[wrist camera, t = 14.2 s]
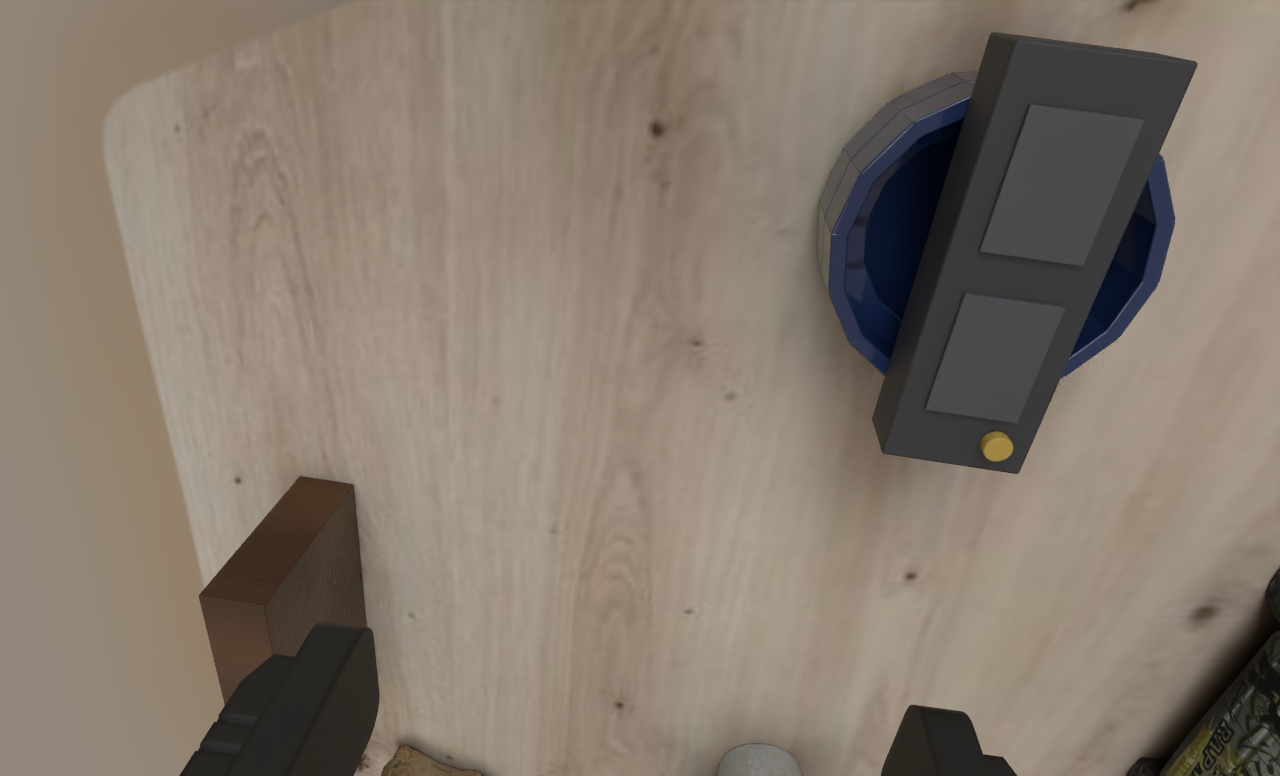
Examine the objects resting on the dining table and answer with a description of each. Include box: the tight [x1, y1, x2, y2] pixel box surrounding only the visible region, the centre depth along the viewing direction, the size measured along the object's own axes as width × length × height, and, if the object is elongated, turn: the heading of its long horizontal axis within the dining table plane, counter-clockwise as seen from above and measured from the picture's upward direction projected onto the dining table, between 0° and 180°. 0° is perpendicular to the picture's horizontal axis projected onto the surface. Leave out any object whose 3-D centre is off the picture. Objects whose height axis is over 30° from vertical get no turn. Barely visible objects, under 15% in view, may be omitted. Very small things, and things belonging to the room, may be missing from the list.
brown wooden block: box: [199, 477, 366, 705], centre depth 41 cm, size 16×3×9 cm, turn 174°
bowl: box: [817, 71, 1175, 378], centre depth 29 cm, size 11×11×5 cm
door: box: [872, 32, 1197, 474], centre depth 25 cm, size 14×5×3 cm, turn 174°
